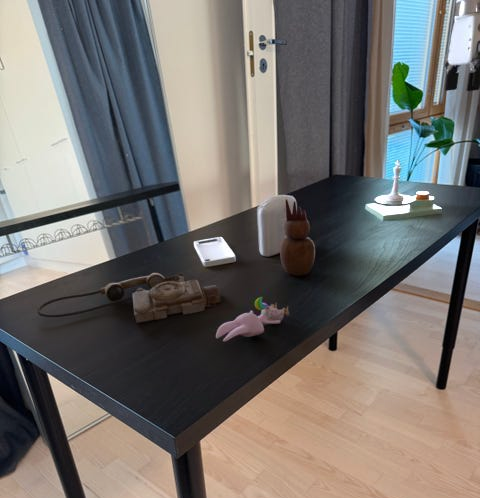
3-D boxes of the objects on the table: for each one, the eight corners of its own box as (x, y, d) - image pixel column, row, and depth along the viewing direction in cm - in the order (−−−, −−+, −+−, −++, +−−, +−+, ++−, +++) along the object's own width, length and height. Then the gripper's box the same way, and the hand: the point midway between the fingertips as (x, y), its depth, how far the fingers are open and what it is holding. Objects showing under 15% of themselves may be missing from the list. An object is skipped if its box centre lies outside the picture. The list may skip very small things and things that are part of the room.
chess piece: (393, 202, 110) (397, 162, 105) (380, 199, 114) (384, 160, 109) (408, 199, 111) (412, 159, 106) (395, 195, 115) (398, 157, 110)
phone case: (236, 261, 93) (222, 241, 106) (236, 256, 92) (221, 236, 105) (204, 267, 92) (193, 246, 104) (203, 262, 91) (193, 241, 104)
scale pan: (403, 195, 117) (403, 192, 117) (420, 203, 109) (421, 201, 108) (368, 199, 117) (369, 197, 116) (384, 208, 108) (384, 206, 108)
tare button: (424, 197, 115) (425, 190, 114) (430, 200, 112) (431, 193, 111) (413, 198, 115) (414, 192, 114) (419, 201, 112) (420, 194, 111)
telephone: (43, 304, 82) (36, 285, 80) (208, 275, 88) (205, 256, 85) (31, 347, 69) (22, 326, 67) (224, 309, 75) (221, 289, 73)
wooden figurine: (276, 275, 85) (272, 202, 77) (288, 265, 89) (286, 194, 81) (307, 280, 81) (306, 204, 74) (318, 269, 85) (319, 195, 78)
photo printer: (286, 241, 101) (285, 190, 95) (300, 245, 98) (299, 192, 92) (256, 254, 96) (252, 200, 90) (269, 258, 93) (266, 203, 87)
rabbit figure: (267, 316, 73) (205, 343, 63) (268, 284, 71) (204, 306, 61) (296, 326, 69) (235, 356, 59) (299, 293, 67) (236, 318, 57)
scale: (420, 202, 120) (421, 191, 119) (443, 213, 110) (445, 201, 108) (365, 209, 119) (365, 198, 117) (382, 221, 109) (383, 209, 107)
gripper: (512, 1, 93) (496, 88, 102) (465, 13, 108) (455, 88, 117) (480, 5, 93) (467, 92, 101) (438, 16, 108) (430, 91, 116)
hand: (461, 90), depth 109 cm, fingers open, 9 cm apart
